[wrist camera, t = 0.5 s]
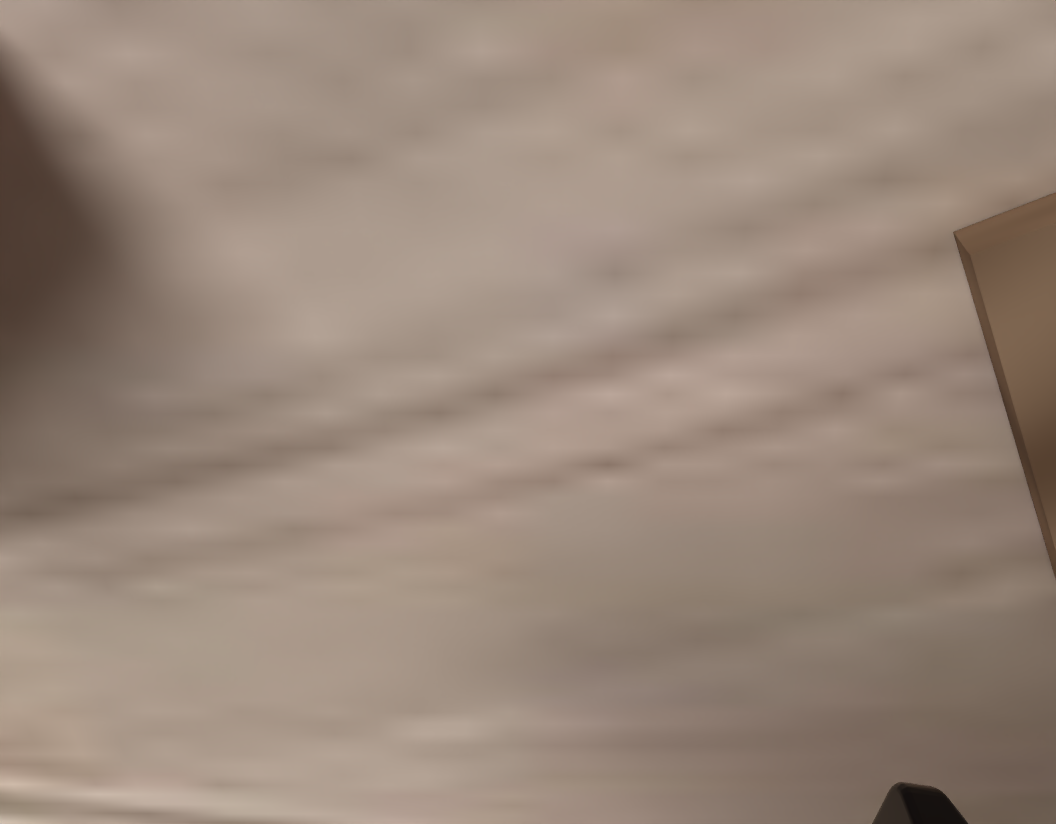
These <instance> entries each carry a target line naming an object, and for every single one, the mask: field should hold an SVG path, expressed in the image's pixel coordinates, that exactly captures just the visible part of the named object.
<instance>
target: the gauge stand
mask: <svg viewBox="0 0 1056 824" xmlns="http://www.w3.org/2000/svg"><path fill="white" fill-rule="evenodd" d="M953 233H954V236H955V239H956V243H957V246H958V249H959V253H960V256H961V260H962V263H963V266H964V270H965V273H966V276H967V280H968V283H969V287H970V290H971V293H972V297H973V300H974V304H975V307H976V310H977V314H978V317H979V320H980V324H981V327H982V331H983V334H984V337H985V341H986V344H987V348H988V351H989V354H990V358H991V361H992V364H993V368H994V371H995V375H996V378H997V381H998V385H999V388H1000V392H1001V395H1002V398H1003V402H1004V405H1005V408H1006V412H1007V415H1008V419H1009V422H1010V425H1011V429H1012V432H1013V435H1014V439H1015V442H1016V446H1017V449H1018V452H1019V456H1020V459H1021V463H1022V466H1023V469H1024V473H1025V476H1026V479H1027V483H1028V486H1029V490H1030V493H1031V496H1032V500H1033V503H1034V507H1035V510H1036V513H1037V517H1038V520H1039V523H1040V527H1041V530H1042V534H1043V537H1044V540H1045V544H1046V547H1047V550H1048V554H1049V557H1050V561H1051V564H1052V567H1053V571H1054V574H1055V578H1056V193H1053V194H1051V195H1048V196H1046V197H1043V198H1040V199H1038V200H1035V201H1033V202H1030V203H1027V204H1025V205H1022V206H1020V207H1017V208H1014V209H1012V210H1009V211H1007V212H1004V213H1002V214H999V215H996V216H994V217H991V218H989V219H986V220H983V221H981V222H978V223H976V224H973V225H970V226H968V227H965V228H963V229H960V230H958V231H955V232H953Z"/></svg>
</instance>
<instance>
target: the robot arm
mask: <svg viewBox="0 0 1056 824" xmlns="http://www.w3.org/2000/svg"><path fill="white" fill-rule="evenodd" d="M872 824H968V823H967V821H966V820H965V819H964V818H963V816H962V815H961V814H960V812H959V811H958V810H957V809H956V807H955V806H954V805H953V803H952V802H951V801H950V800H949V798H948V797H947V796H946V795H945V794H944V793H943V792H942V791H940V790H939V789H937V788H934V787H931V786H925V785H918V784H911V783H904V782H900V783H897V784H895V785H893V786H892V787H891V789H890V790H889V792H888V794H887V796H886V798H885V800H884V802H883V804H882V806H881V808H880V810H879V812H878V814H877V815H876V817H875V819H874V821H873V823H872Z"/></svg>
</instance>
